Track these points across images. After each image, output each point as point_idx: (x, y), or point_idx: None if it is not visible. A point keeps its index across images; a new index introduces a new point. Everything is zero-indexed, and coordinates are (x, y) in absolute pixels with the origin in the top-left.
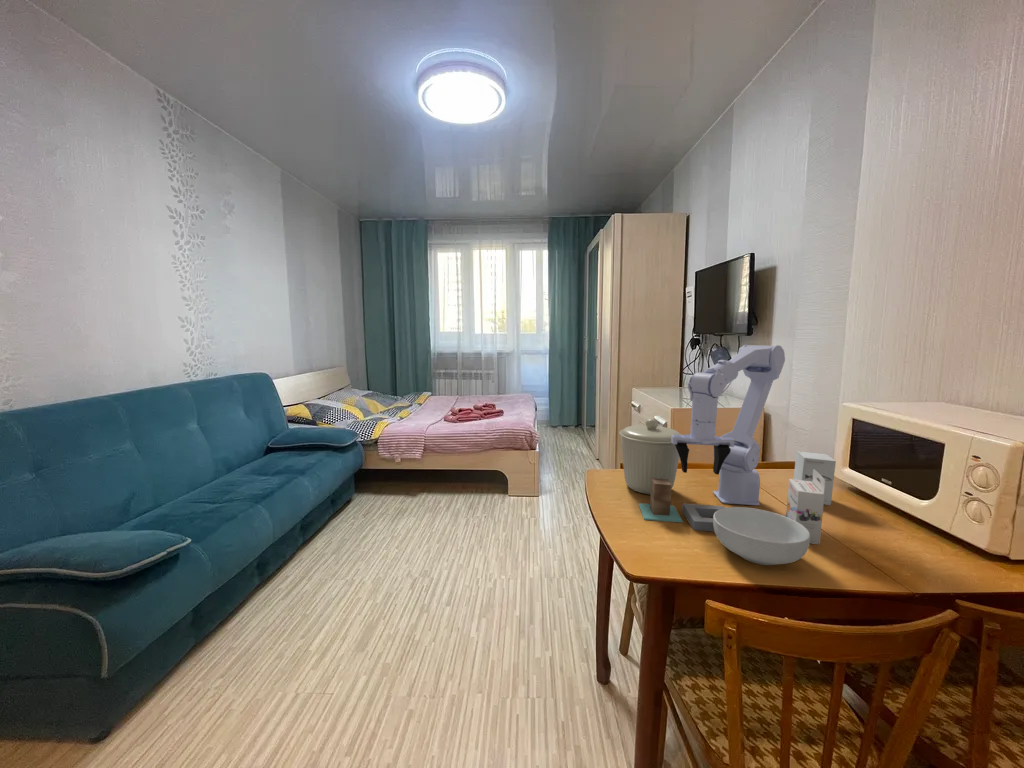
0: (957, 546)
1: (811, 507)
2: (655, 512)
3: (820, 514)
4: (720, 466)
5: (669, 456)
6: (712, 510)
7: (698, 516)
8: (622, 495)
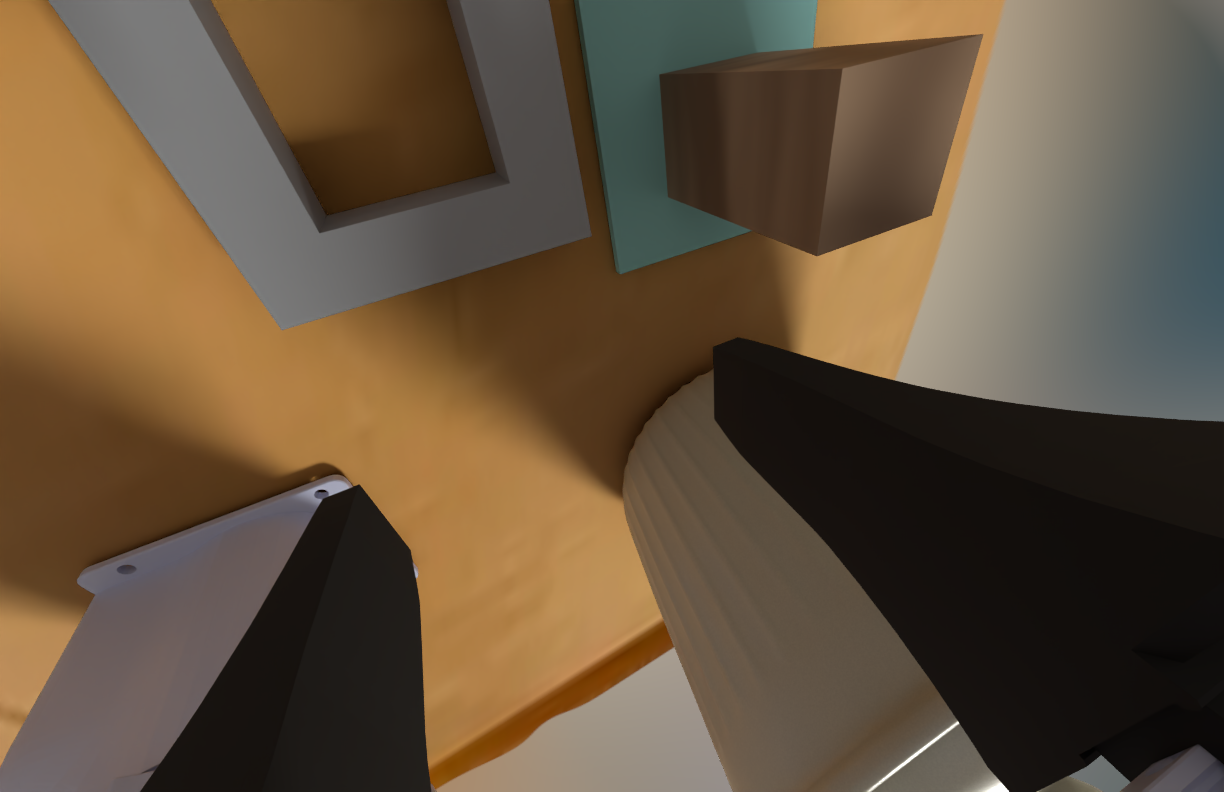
0: None
1: None
2: (754, 53)
3: None
4: (267, 611)
5: (822, 566)
6: (365, 219)
7: None
8: (831, 301)
